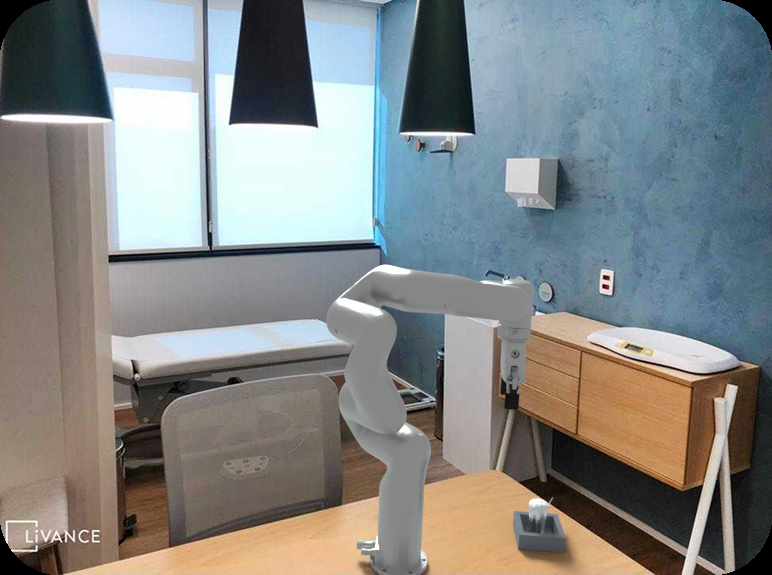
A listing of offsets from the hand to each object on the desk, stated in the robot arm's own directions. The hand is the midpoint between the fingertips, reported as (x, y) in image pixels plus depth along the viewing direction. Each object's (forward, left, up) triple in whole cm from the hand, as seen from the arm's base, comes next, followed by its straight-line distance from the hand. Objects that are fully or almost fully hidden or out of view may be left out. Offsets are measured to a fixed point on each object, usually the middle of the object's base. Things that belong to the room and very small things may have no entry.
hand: (508, 401), depth 157 cm
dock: (+8, -8, -30) cm, 32 cm away
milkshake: (+8, -8, -30) cm, 32 cm away
